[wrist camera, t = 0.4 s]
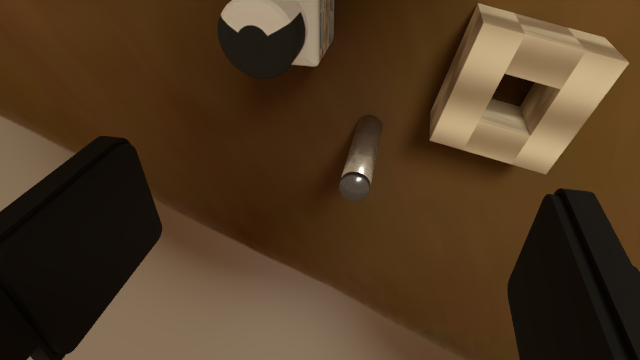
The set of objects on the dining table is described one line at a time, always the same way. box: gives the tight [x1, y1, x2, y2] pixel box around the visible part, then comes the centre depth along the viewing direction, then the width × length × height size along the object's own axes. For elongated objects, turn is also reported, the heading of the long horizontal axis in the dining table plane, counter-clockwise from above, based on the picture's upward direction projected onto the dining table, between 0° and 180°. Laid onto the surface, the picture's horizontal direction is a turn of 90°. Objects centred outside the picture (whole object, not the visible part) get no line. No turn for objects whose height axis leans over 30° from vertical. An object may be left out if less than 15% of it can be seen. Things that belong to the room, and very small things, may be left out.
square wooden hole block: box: [430, 3, 629, 174], centre depth 38 cm, size 12×12×6 cm
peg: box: [339, 115, 382, 201], centre depth 43 cm, size 3×3×12 cm
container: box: [218, 0, 334, 79], centre depth 35 cm, size 8×8×13 cm
